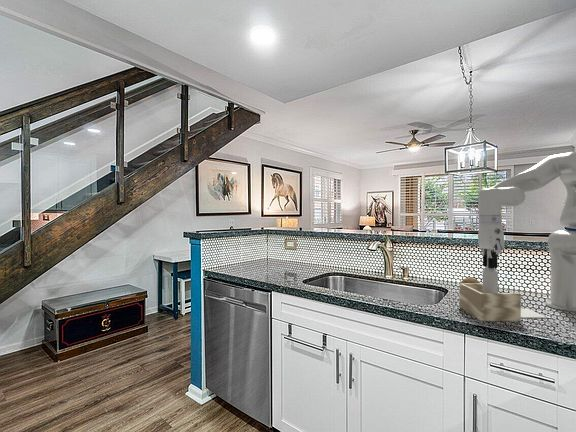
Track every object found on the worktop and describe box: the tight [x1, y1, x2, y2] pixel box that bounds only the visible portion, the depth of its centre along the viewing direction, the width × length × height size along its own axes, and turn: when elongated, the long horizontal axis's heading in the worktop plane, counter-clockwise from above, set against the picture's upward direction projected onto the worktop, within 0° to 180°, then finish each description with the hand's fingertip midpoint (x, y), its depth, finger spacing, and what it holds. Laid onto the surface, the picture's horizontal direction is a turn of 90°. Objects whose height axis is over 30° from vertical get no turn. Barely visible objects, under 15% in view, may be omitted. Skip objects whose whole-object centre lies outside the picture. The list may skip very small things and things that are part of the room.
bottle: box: [481, 249, 499, 293], centre depth 123 cm, size 5×5×25 cm
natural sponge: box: [460, 277, 481, 283], centre depth 142 cm, size 9×9×10 cm
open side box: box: [459, 282, 522, 322], centre depth 123 cm, size 14×16×10 cm
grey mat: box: [521, 308, 548, 319], centre depth 122 cm, size 10×10×1 cm
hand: (490, 266), depth 123 cm, fingers closed on bottle, 2 cm apart
